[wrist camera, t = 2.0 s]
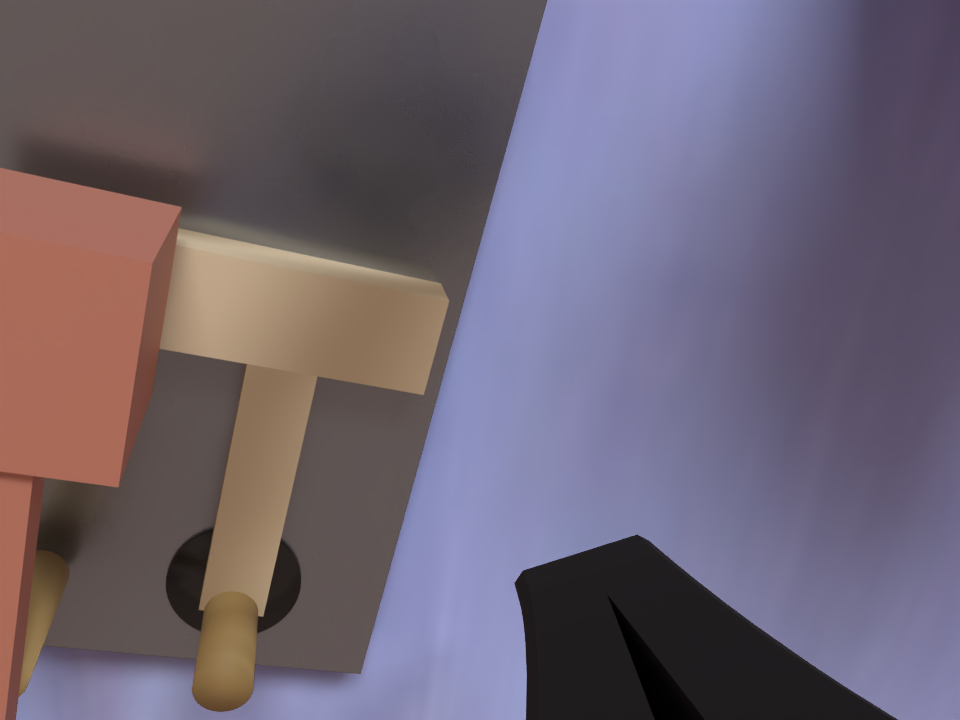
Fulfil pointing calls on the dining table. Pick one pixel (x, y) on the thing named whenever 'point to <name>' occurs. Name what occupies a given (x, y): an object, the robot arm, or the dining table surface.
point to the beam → (279, 403)
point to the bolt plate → (276, 224)
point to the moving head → (68, 373)
